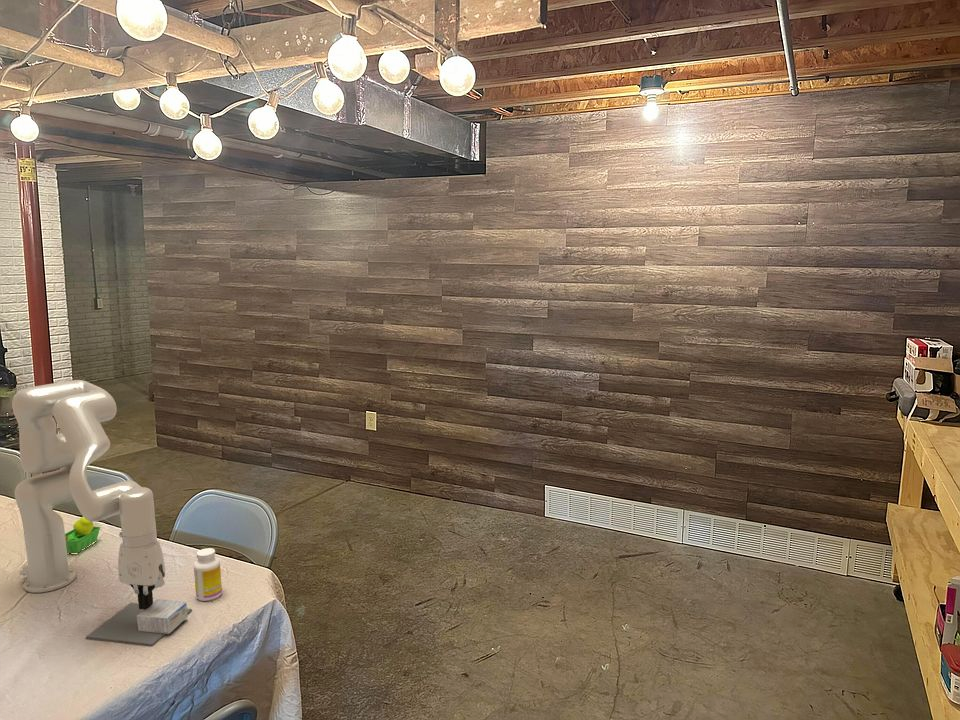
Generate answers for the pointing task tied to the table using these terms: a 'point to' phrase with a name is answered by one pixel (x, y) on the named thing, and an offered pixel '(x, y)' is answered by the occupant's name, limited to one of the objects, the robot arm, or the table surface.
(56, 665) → the table surface
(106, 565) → the table surface
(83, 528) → the fruit basket
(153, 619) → the medicine box
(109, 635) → the mat
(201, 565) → the supplement bottle
